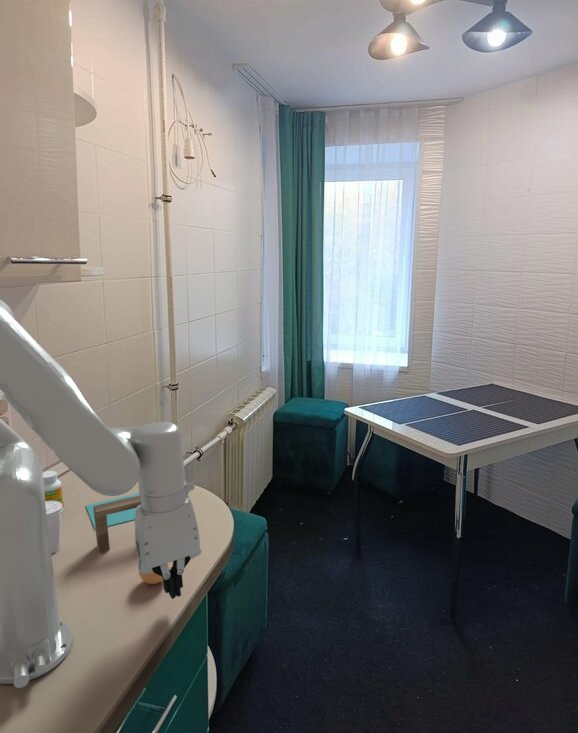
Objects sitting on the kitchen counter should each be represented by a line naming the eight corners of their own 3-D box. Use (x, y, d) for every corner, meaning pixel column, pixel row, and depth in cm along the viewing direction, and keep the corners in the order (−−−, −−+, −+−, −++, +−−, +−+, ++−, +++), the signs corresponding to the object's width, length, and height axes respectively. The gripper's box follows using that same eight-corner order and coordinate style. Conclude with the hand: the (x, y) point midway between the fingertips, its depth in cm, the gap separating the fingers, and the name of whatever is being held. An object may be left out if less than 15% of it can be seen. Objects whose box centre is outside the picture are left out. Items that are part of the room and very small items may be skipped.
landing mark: (152, 515, 123) (152, 514, 123) (95, 529, 117) (95, 529, 117) (138, 493, 134) (138, 493, 134) (85, 506, 128) (85, 505, 128)
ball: (173, 584, 97) (171, 558, 96) (144, 594, 95) (141, 567, 94) (164, 569, 102) (163, 544, 101) (136, 578, 99) (134, 552, 98)
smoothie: (29, 550, 109) (21, 488, 106) (59, 538, 114) (52, 478, 111) (41, 562, 105) (33, 498, 102) (72, 548, 110) (65, 487, 107)
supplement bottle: (47, 519, 122) (42, 481, 120) (35, 512, 125) (30, 475, 123) (68, 510, 126) (64, 473, 124) (56, 504, 129) (52, 467, 127)
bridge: (167, 533, 115) (165, 495, 113) (99, 552, 108) (95, 512, 106) (164, 527, 118) (161, 490, 116) (97, 545, 111) (93, 506, 109)
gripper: (198, 477, 93) (206, 567, 97) (112, 500, 86) (125, 596, 90) (214, 493, 86) (222, 589, 90) (122, 519, 79) (135, 622, 83)
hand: (173, 592), depth 90 cm, fingers closed
